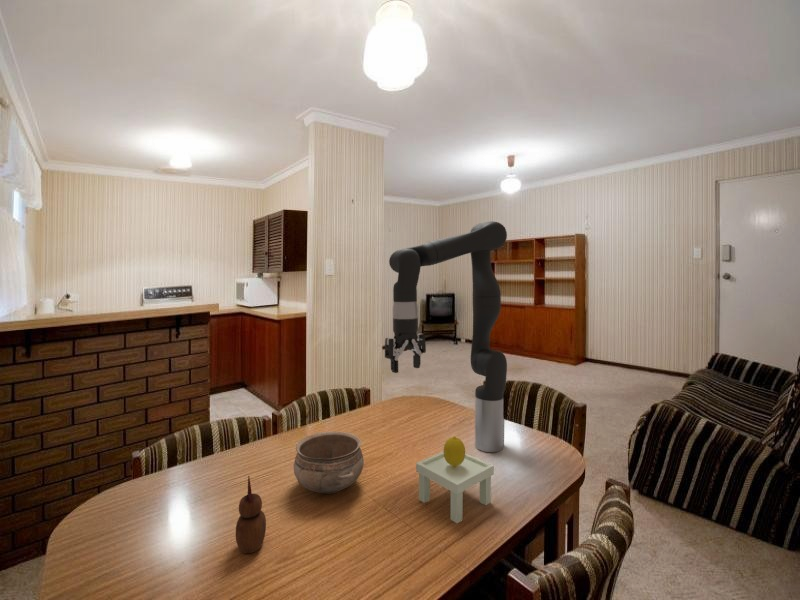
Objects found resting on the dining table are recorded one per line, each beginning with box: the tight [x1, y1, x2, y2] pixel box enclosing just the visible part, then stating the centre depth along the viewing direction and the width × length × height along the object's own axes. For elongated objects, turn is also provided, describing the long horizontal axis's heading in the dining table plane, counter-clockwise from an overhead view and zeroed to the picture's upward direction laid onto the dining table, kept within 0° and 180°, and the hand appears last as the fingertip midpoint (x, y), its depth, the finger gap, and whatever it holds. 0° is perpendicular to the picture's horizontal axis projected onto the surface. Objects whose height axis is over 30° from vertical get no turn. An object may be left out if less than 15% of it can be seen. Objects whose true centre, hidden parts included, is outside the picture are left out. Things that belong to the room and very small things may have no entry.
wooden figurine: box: [235, 475, 267, 554], centre depth 84 cm, size 7×6×15 cm
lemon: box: [443, 436, 466, 467], centre depth 101 cm, size 6×6×8 cm
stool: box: [415, 450, 495, 524], centre depth 101 cm, size 14×14×10 cm
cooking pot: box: [293, 431, 365, 495], centre depth 108 cm, size 25×19×12 cm
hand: (406, 370), depth 118 cm, fingers open, 8 cm apart
